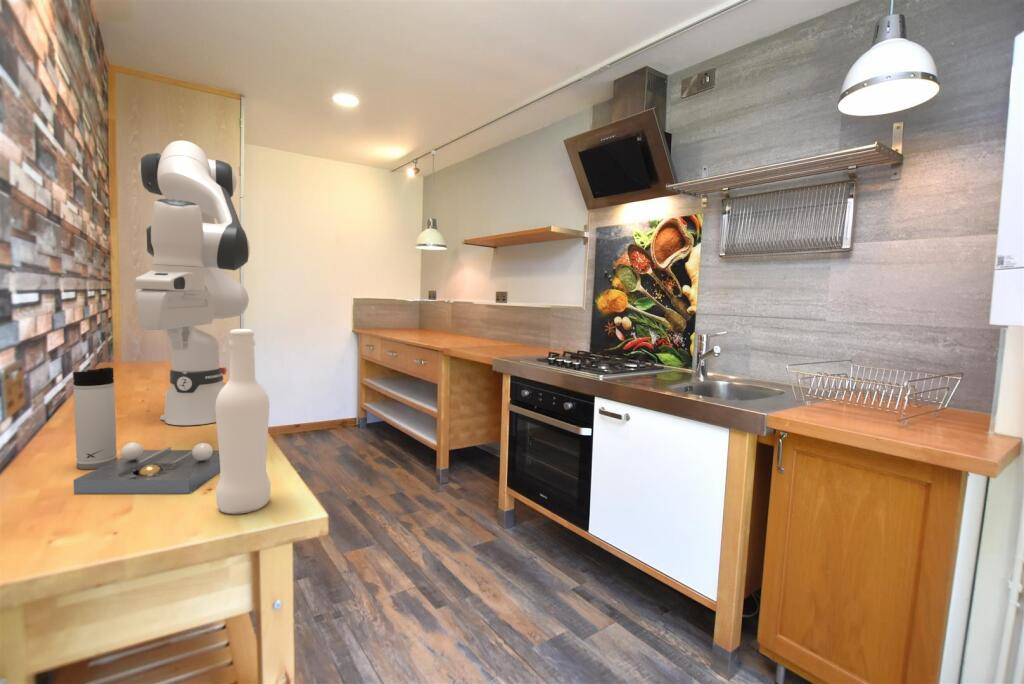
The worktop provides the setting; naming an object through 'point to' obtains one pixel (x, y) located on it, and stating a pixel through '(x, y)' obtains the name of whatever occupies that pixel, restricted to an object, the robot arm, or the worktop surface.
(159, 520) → the worktop surface
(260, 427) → the bottle
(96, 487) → the plate
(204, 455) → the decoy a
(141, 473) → the brass ball
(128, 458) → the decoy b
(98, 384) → the travel mug
